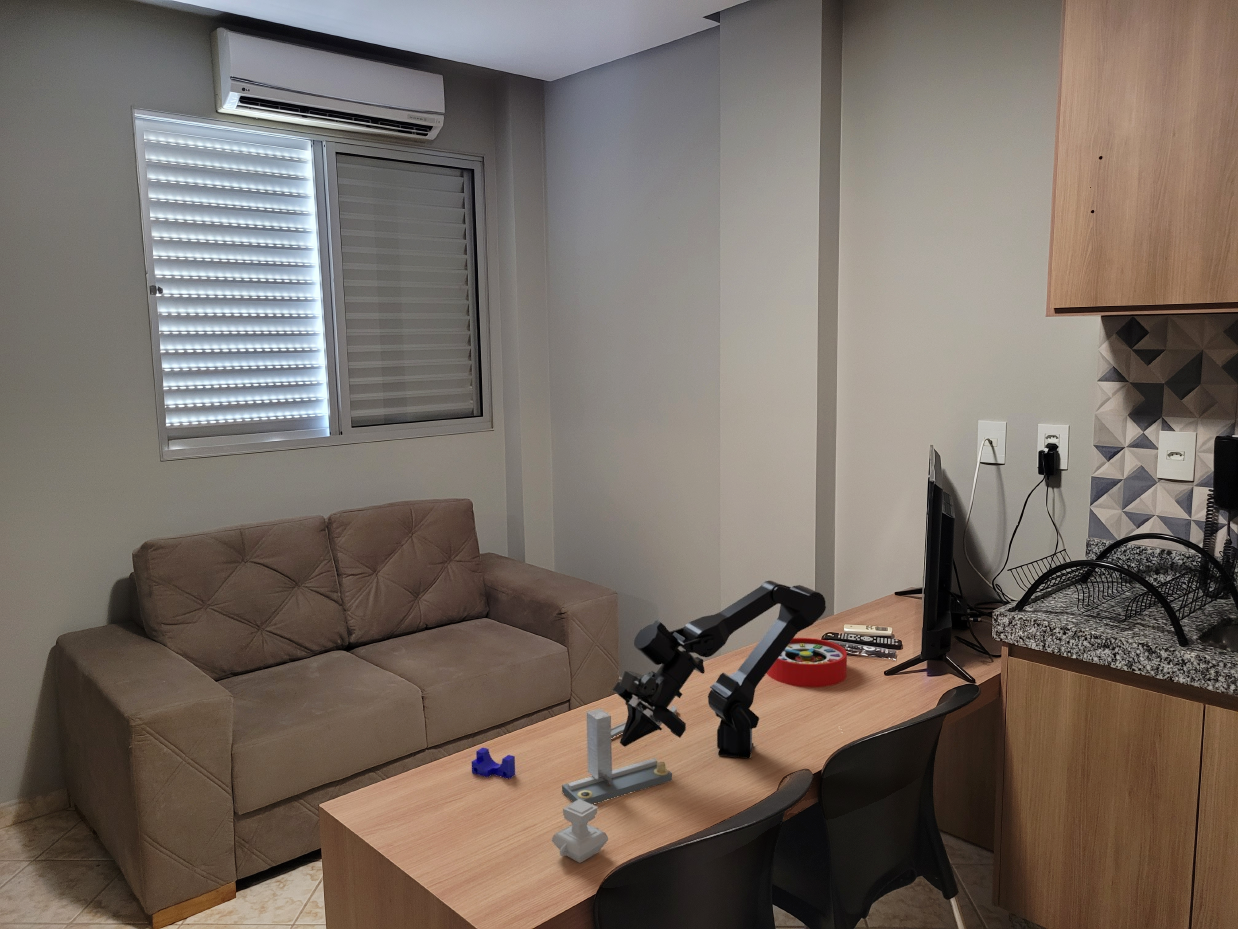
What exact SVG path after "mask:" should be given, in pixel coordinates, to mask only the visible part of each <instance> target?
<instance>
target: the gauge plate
mask: <svg viewBox="0 0 1238 929" xmlns="http://www.w3.org/2000/svg"><path fill="white" fill-rule="evenodd" d="M610 778H611V779H612V780H613V784H611V786H607V782H606V781H605V780H604V779H602V780H599V781H598V780H597V779H595V778H594V777H593V776H592V775H590V776H589V777H585V778H581V779H578V780H575V781H571V782H568V783H565V784H562V785H561V792H563V793H564V794H565V795H566V796H567V797H568V798H569V801H571V800H572V801H571V803H573V802H575V801H576V800H578V799H580V800H583V801H585V802H587V803H590V804H594V803H597V804H599V803H598V802H601V803H603V802H602V801H604V800H607V799H610V800H612V799H611V798H614V797H617V796H620V797H622V796H621V795H623V796H625V795H624V794H627V795H629V794H628V793H630V792H633V793H635V792H634V791H636V792H639V791H638V790H640V791H642V790H641V789H643V790H645V788H646V789H649V788H652V786H653V787H655V785H656V786H659V785H662V784H666V783H668V781H669V782H672V781H673V772H671V771H670V770H669V769H667V768H666V763H665V762H663V761H659V762H658V760H657V758H654V757H653V758H651V759H647V760H644V761H640V762H636V763H633V764H630V765H627V766H623V767H619V768H616V769H612V777H610ZM671 780H672V781H671ZM665 782H666V783H665ZM658 784H659V785H658ZM648 787H649V788H648ZM563 793H562V794H563ZM564 794H563V795H564ZM630 794H631V793H630ZM565 795H564V796H565ZM566 796H565V797H566ZM567 797H566V798H567ZM568 798H567V799H568ZM617 798H618V797H617ZM614 799H615V798H614ZM607 801H608V800H607ZM604 802H605V801H604ZM594 805H595V804H594Z"/></svg>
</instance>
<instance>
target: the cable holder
mask: <svg viewBox="0 0 1238 929" xmlns="http://www.w3.org/2000/svg"><path fill="white" fill-rule="evenodd" d="M475 752H476V755H475V756H476V758H475V759H473V760H472V761H471V774H475V775H478V776H480V777H481V776H482V777H484V776H485V777H484V778H487V777H488V778H490V777H491V776H492V774H493V776H496V775H497V777H500V776H501V777H500V778H503V777H504V779H506V778H508V779H507V780H510V779H512V778H513V777H515V776H516V758H515V756H514V755H511V754H508V755H506V756H504V757H503V758H502V759H501V763H497V762H496V761H495V760H494V759H493V758H492V756H491V754H490V749H489V748H486V747H481V748H479V749H477V750H476V751H475ZM490 775H491V776H490ZM514 775H515V776H514ZM489 776H490V777H489ZM512 776H513V777H512ZM511 777H512V778H511ZM509 778H510V779H509Z"/></svg>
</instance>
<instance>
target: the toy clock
mask: <svg viewBox="0 0 1238 929" xmlns="http://www.w3.org/2000/svg"><path fill="white" fill-rule="evenodd" d="M847 656H848V654H847V650H846V649H845V648H844V647H843V646H841V645H839V644H837V643H835V642H831V641H828V640H825V639H820V638H811V637H810V638H809V637H794V638H793V639H792V640H791V642H790V643H789V644H788V646H787V647H786V648H785V650H784V651H783V652H782V654H781V655H780V656H779V657H778V659H777V660H776V661H775V663H774V664H773V665H772V667H771V668H770V669H769V671H768V672H767V673H766V675H767V677H769V678H771V680H774V681H776V682H779V683H782V684H785V685H788V686H789V685H790V686H794V687H801V688H823V687H830V686H833V685H837V684H840V683H841V682H843V681H845V679H846V678H847V674H848V673H847V671H848V669H847V666H848V665H847V663H848V662H847V658H848V657H847Z"/></svg>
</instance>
